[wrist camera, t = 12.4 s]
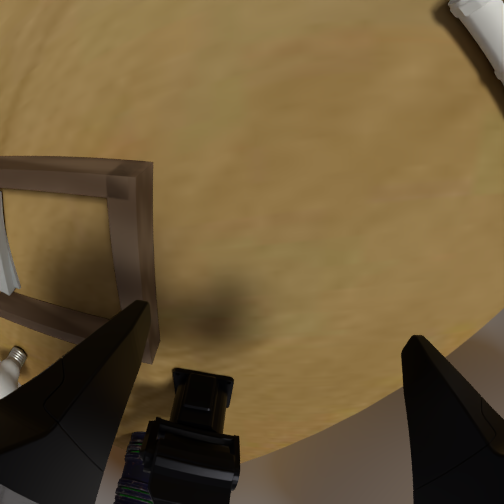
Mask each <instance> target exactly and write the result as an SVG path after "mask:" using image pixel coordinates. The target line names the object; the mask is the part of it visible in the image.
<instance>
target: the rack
mask: <svg viewBox="0 0 504 504" xmlns="http://www.w3.org/2000/svg"><path fill="white" fill-rule="evenodd" d="M0 188H12V189H24V190H36V191H47V192H57V193H68V194H77V195H87V196H96V197H105V198H107V204H108V216H109V227H110V237H111V245H112V254H113V261H114V268H115V275H116V282H117V288H118V294H119V300H120V306H121V311H122V310H123V309H124V308H126V307H127V306H128V305H130V304H131V303H132V302H134V301H135V300H137V299H139V300H144V301H148V302H149V304H150V312H151V326H150V330H149V334H148V338H147V342H146V346H145V350H144V354H143V358H142V361H141V362H143V363H148V364H152V363H153V360H154V357H155V354H156V351H157V349H158V346H159V343H160V334H159V324H158V312H157V300H156V286H155V268H154V245H153V162H146V161H134V160H121V159H106V158H87V157H61V156H0ZM0 317H2V318H5V319H7V320H10V321H12V322H14V323H17V324H20V325H22V326H25V327H27V328H30V329H33V330H35V331H38V332H41V333H44V334H47V335H49V336H52V337H55V338H58V339H61V340H64V341H67V342H71V343H74V344H77V345H78V344H79V343H80V342H82V341H83V340H84V339H85V338H87V337H88V336H89V335H91V334H92V333H93V332H94V331H96V330H97V329H98V328H100V327H101V326H102V325H104V324H105V323H106V322H107V321H109V319H105V318H101V317H97V316H93V315H89V314H85V313H82V312H78V311H74V310H71V309H67V308H64V307H60V306H57V305H53V304H50V303H47V302H43V301H40V300H37V299H34V298H30V297H27V296H24V295H21V294H18V293H15V292H12V293H11V294H10V296H9V295H7V294H5V293H4V292H1V293H0Z"/></svg>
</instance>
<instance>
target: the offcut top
mask: <svg viewBox="0 0 504 504" xmlns="http://www.w3.org/2000/svg"><path fill="white" fill-rule="evenodd" d="M14 290H15V287H14V282H13V277H12V272H11V267H10V261H9V256H8V249H7V243H6V235H5V227H4V218H3V207H2V192H1V191H0V291H2V292H4V293H5V294H7V295H9V296H10V294H11V293H12V292H13V291H14Z"/></svg>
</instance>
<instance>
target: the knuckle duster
mask: <svg viewBox="0 0 504 504" xmlns="http://www.w3.org/2000/svg"><path fill="white" fill-rule="evenodd" d="M448 6H449V7H450V11H451V13H452V14H453V15H454V16H455V17H456V18H459V19H460V20H461V22H462V23H463V24H464V26H465V27H466V28H467V30H468V31H469V32H470V34H471V35H472V37H473V38H474V39H475V41H476V42H477V44H478V45H479V46H480V48H481V49H482V51H483V52H484V54H485V55H486V57H487V59H488V60H489V62H490V63H491V65H492V66H493V68H494V70H495V71H494V73H495V75H496V77H497V78H498V79H499V80H501V82H502V83H503V85H504V3H503V1H502V0H450V1H449V3H448Z"/></svg>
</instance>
